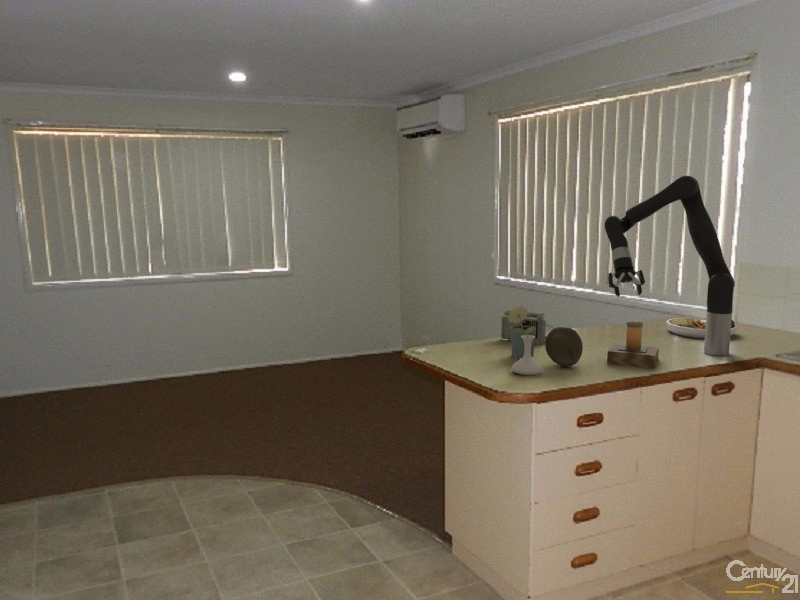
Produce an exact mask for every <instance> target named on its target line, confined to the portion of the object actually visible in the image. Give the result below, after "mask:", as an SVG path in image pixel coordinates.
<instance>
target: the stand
mask: <svg viewBox="0 0 800 600" xmlns="http://www.w3.org/2000/svg"><path fill="white" fill-rule="evenodd" d="M659 348H660V347H659V346H651V345H643V344H641V349H638V350H634V349H628V348H626V343H619V342H618V343H617V342H613V343H612V345H611V346H610V347H609V348H608V350H607V353H606V354H607V360H606V365H616V366H617V365H618V366H625V367H634V368H645V369H654V370H655V368H656V367H657V363H658V362H659V361H658V360H659V350H660V349H659Z"/></svg>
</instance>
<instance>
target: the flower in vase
mask: <svg viewBox="0 0 800 600" xmlns="http://www.w3.org/2000/svg"><path fill="white" fill-rule="evenodd" d="M510 311H511V312H510V314H509V316H508V319H509V322H511V323H512V322H513V323H518V322H521V321H523V320H524V319H525V318H527V317H526V316H527V313H528V312H529V311H528V308H527V307H524V305H523V306H522V305H520V306H515V308H513V309H512V310H510ZM521 327H522V322H521ZM522 330H523V327H522V329H521V328H515V329H514V330H513V331H512V332H511V333H520V332H521V331H522ZM533 330H534V326H533V327H531V328H528V329H526V333H530V332H532V331H533ZM523 331H524V330H523ZM524 333H525V331H524ZM526 333H525V335H523V336H521V337H522V339H523V341H524V347H525V351H524V356H523V357H522V358H521V359H518V360H517V361H516V362H515V363H513V364H512V365H511V371H512V372H513V373H516V374H517V375H522V376H536V375H540V374H541V373H543V371H544V368H543V366H541V364H540V363H539V362H537V360H535V359H534V357H533V358H532V356H531V345H532V341H533V339H534V338H535V336H532V335H526Z"/></svg>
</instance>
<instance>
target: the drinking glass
mask: <svg viewBox="0 0 800 600" xmlns="http://www.w3.org/2000/svg"><path fill="white" fill-rule="evenodd" d="M522 327H523V330H524V331H525V333H526V329H528V328H531V327H532V326H522ZM522 327H521V326H512V327H511V332H512V331H513V330H514V329H515V328H521V329H522ZM523 330H522V331H521V332H520V333H511V341H510V342H511V344H510V345H511V357H512V356H513V357H516V358H515V359H517V358H522V357H523V356H524V351H525V347H524V341H523V339H522V337H521V336H523V335H525V333H524V331H523ZM535 333H536V328H535V327H534V330H533V331H532V332H530V333H526V335H532V336H535ZM534 340H535V338H534V339H533V341H532V345H531V356H532V357H533V358H534V356H535V355H534V352H535V343H534ZM513 357H512V358H513Z"/></svg>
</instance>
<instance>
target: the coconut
mask: <svg viewBox="0 0 800 600" xmlns="http://www.w3.org/2000/svg"><path fill="white" fill-rule="evenodd" d="M544 347H545V351H546V355H547V356H548V357H549V358H550V359H551V361H552V362H553V363H555V364H556V365H558V366H561V367H563V368H571V367H572V366H575V365H576V364H577V363H579V361H580V359H581V357H582V354H583V350H584V349H583V347H584V345H583V341H582V338H581V337H580V335H579V333H578V332H577V331H576V330H575V329H573V328H571V327H562V326H558V327H554V329H553V328H552V329H551V330H550V331H549V332H548V334H547V337H546V339H545V344H544Z"/></svg>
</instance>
